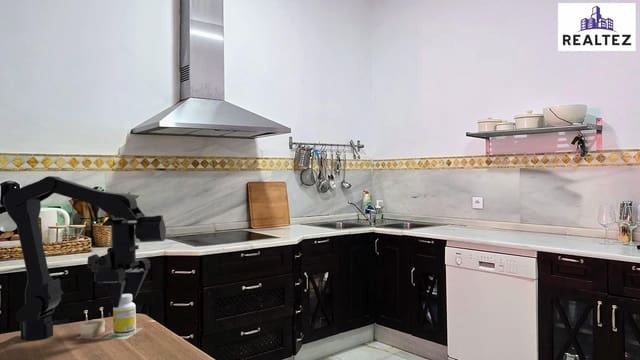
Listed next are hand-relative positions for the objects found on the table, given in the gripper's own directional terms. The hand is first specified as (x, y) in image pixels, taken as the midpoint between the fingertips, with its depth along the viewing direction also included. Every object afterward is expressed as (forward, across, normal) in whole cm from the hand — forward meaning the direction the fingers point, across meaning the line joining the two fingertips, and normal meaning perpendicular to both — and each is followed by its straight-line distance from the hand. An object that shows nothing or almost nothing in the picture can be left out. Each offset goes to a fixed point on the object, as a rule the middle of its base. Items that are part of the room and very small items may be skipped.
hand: (124, 302), depth 124 cm
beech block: (+8, +1, -8) cm, 11 cm away
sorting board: (+9, 0, -4) cm, 10 cm away
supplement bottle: (+8, 0, 0) cm, 8 cm away
